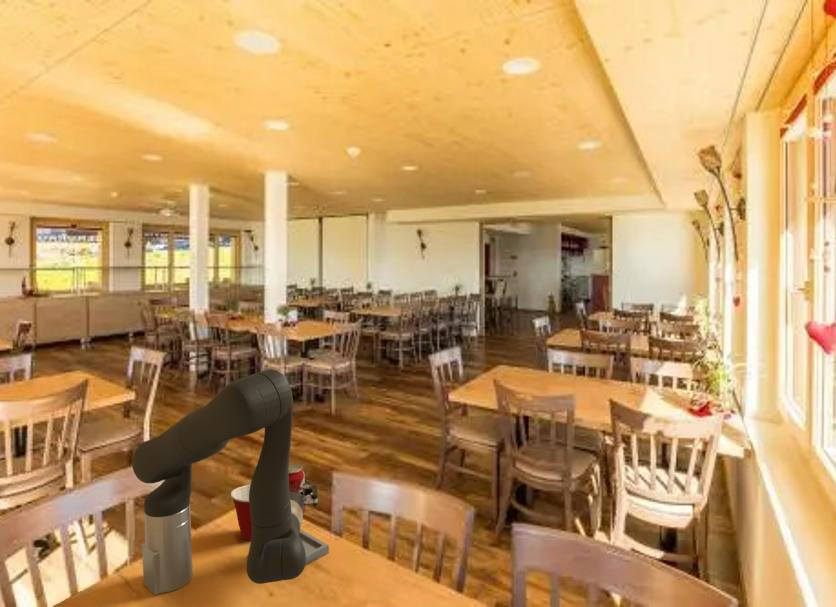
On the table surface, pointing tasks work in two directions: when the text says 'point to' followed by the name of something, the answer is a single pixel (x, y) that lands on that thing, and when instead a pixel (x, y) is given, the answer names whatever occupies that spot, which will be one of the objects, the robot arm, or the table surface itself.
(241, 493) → the plastic cup
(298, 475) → the soda can
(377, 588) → the table surface
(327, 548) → the serving tray
